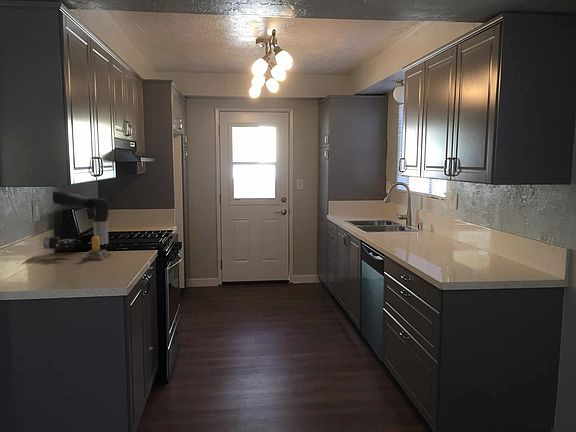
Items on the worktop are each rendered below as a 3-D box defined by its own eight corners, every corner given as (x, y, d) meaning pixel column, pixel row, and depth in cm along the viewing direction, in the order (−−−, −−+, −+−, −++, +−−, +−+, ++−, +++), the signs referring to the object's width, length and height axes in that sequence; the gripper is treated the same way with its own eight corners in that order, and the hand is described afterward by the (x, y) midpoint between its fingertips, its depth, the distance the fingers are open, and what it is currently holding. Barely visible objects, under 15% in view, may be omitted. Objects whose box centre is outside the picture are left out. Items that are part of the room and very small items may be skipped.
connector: (94, 255, 297) (93, 236, 296) (101, 255, 297) (100, 236, 295) (91, 256, 293) (90, 237, 291) (98, 256, 293) (97, 237, 291)
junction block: (92, 254, 303) (91, 248, 302) (110, 254, 303) (110, 248, 302) (81, 260, 288) (81, 253, 287) (101, 260, 288) (101, 253, 287)
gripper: (45, 239, 286) (71, 239, 286) (56, 234, 301) (82, 235, 301) (45, 251, 288) (72, 251, 287) (57, 246, 302) (82, 246, 302)
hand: (77, 243), depth 294 cm, fingers open, 8 cm apart
